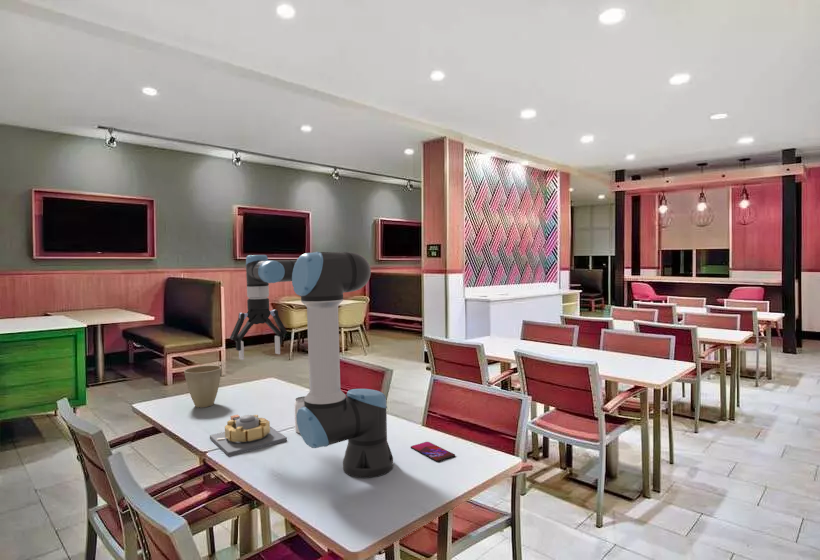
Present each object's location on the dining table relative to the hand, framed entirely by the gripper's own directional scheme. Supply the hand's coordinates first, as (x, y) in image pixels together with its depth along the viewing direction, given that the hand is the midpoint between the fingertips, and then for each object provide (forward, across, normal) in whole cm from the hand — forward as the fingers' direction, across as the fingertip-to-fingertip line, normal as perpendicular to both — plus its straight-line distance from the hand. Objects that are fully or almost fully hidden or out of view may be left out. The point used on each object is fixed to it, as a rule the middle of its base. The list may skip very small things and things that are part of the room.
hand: (260, 356), depth 177 cm
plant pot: (+28, +5, -50) cm, 57 cm away
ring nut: (+26, +7, 0) cm, 27 cm away
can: (+28, -12, +9) cm, 32 cm away
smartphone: (+28, -33, +55) cm, 70 cm away
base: (+28, +7, +4) cm, 29 cm away
